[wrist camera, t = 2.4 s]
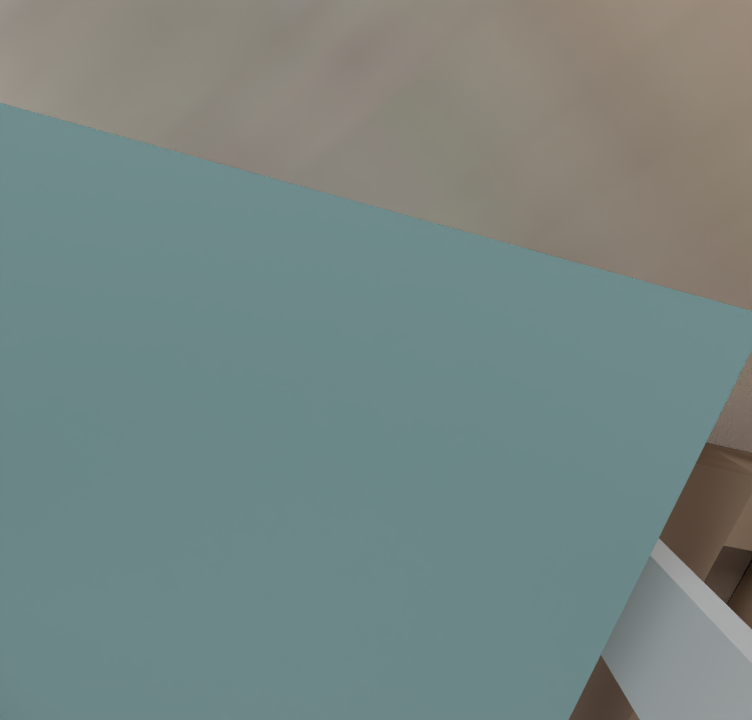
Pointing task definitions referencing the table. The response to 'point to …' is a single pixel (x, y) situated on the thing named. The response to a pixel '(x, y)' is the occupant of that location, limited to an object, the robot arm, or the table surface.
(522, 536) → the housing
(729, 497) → the board
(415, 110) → the table surface
